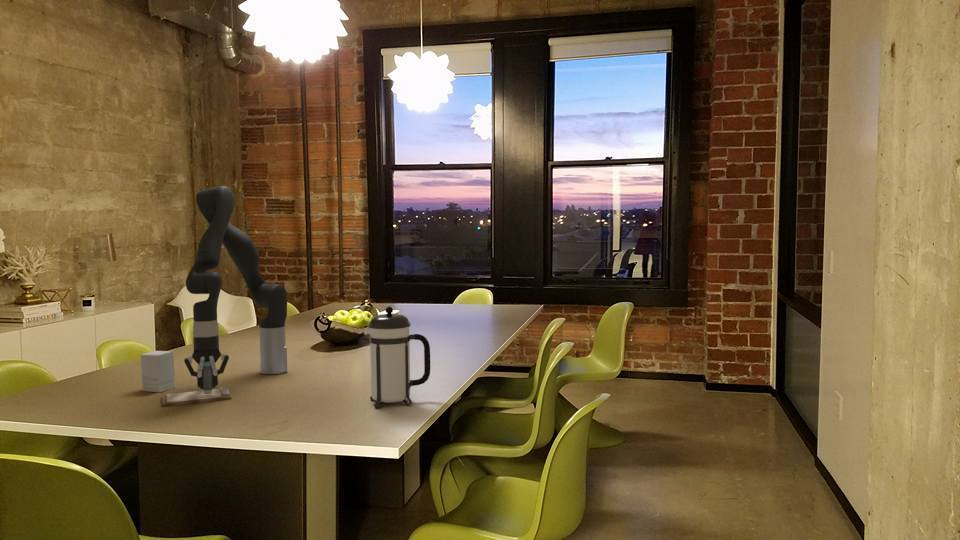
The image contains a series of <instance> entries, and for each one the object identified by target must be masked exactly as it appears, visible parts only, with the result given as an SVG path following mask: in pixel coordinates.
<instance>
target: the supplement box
mask: <svg viewBox="0 0 960 540" xmlns="http://www.w3.org/2000/svg"><path fill="white" fill-rule="evenodd" d="M174 360H175V358H174V351H169V350H167V351H166V350H155V351H150V352H146V353H142V354H140V363H141V382H142V383H141V384H142V386H141V387H142V392H151V393H152V392H153V393H161V392H165V391H169V390H172V389H175V388H176V382H175V362H174Z"/></svg>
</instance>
